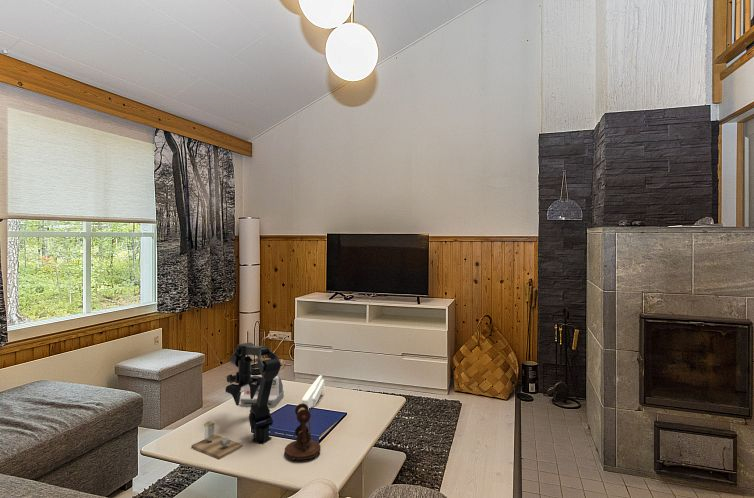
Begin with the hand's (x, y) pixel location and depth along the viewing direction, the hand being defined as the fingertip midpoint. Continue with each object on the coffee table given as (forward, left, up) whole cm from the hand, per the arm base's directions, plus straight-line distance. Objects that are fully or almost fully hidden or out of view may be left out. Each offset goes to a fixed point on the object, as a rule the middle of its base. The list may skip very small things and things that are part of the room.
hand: (244, 402), depth 202 cm
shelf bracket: (-9, -41, -13) cm, 44 cm away
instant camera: (+17, -28, -13) cm, 36 cm away
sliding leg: (0, +20, -11) cm, 23 cm away
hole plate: (-5, +20, -12) cm, 24 cm away
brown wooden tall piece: (-40, +5, -12) cm, 42 cm away
